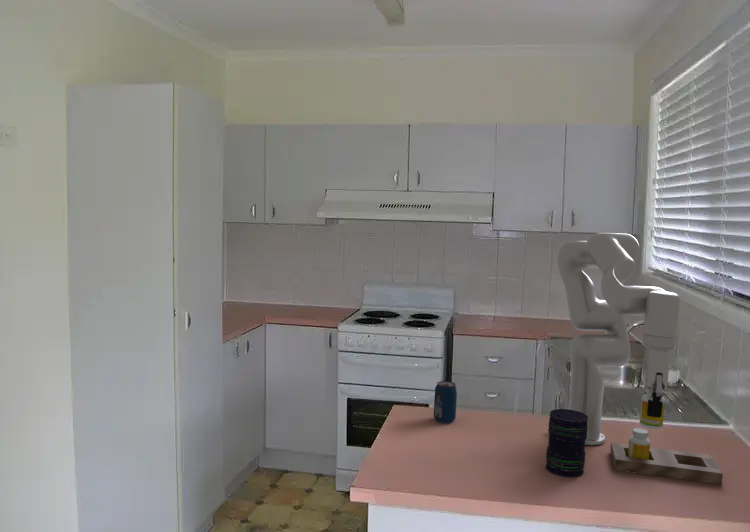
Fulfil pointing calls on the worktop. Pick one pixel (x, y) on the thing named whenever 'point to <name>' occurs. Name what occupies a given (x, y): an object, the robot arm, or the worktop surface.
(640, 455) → the supplement bottle
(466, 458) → the worktop surface
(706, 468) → the bottle rack
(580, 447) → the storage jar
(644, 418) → the supplement bottle
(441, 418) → the soda can
